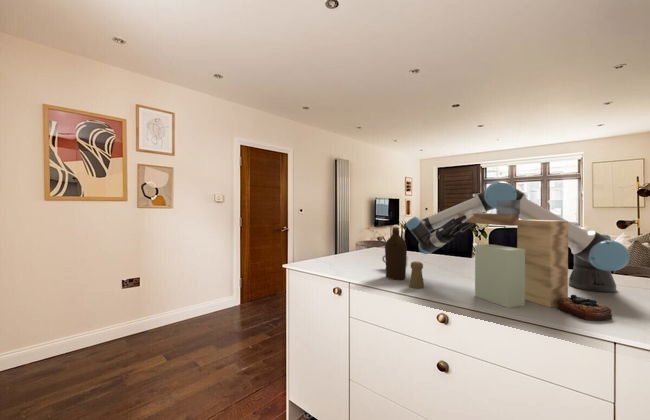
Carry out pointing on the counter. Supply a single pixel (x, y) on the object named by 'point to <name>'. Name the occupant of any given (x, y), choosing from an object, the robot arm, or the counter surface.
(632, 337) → the counter surface
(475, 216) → the beam
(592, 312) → the pastry
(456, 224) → the robot arm
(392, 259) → the olive oil
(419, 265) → the cork
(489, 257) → the sage green upright block
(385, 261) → the teacup
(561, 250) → the oak stand
